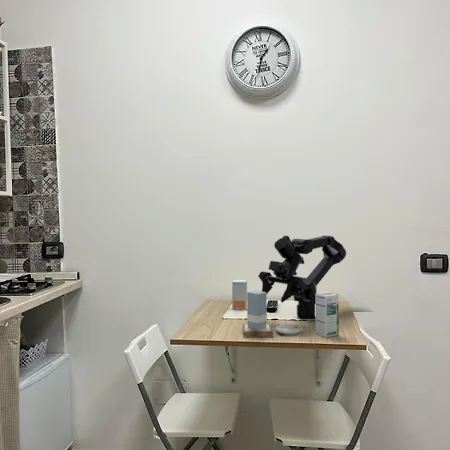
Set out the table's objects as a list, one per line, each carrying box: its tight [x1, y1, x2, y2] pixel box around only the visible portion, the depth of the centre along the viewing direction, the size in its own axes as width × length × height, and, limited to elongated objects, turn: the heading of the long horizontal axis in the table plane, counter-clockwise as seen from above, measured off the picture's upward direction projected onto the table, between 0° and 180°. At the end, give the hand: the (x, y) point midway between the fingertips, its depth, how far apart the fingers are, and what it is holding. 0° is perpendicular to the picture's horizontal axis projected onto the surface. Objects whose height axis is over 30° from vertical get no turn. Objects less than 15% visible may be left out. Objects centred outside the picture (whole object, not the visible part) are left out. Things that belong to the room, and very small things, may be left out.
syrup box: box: [315, 291, 340, 338], centre depth 167 cm, size 6×6×14 cm
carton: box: [246, 289, 268, 330], centre depth 170 cm, size 5×5×12 cm
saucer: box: [275, 324, 302, 335], centre depth 170 cm, size 9×9×2 cm
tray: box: [242, 323, 274, 338], centre depth 170 cm, size 10×10×2 cm
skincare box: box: [231, 279, 248, 310], centre depth 207 cm, size 6×4×12 cm
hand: (271, 299), depth 175 cm, fingers open, 9 cm apart
